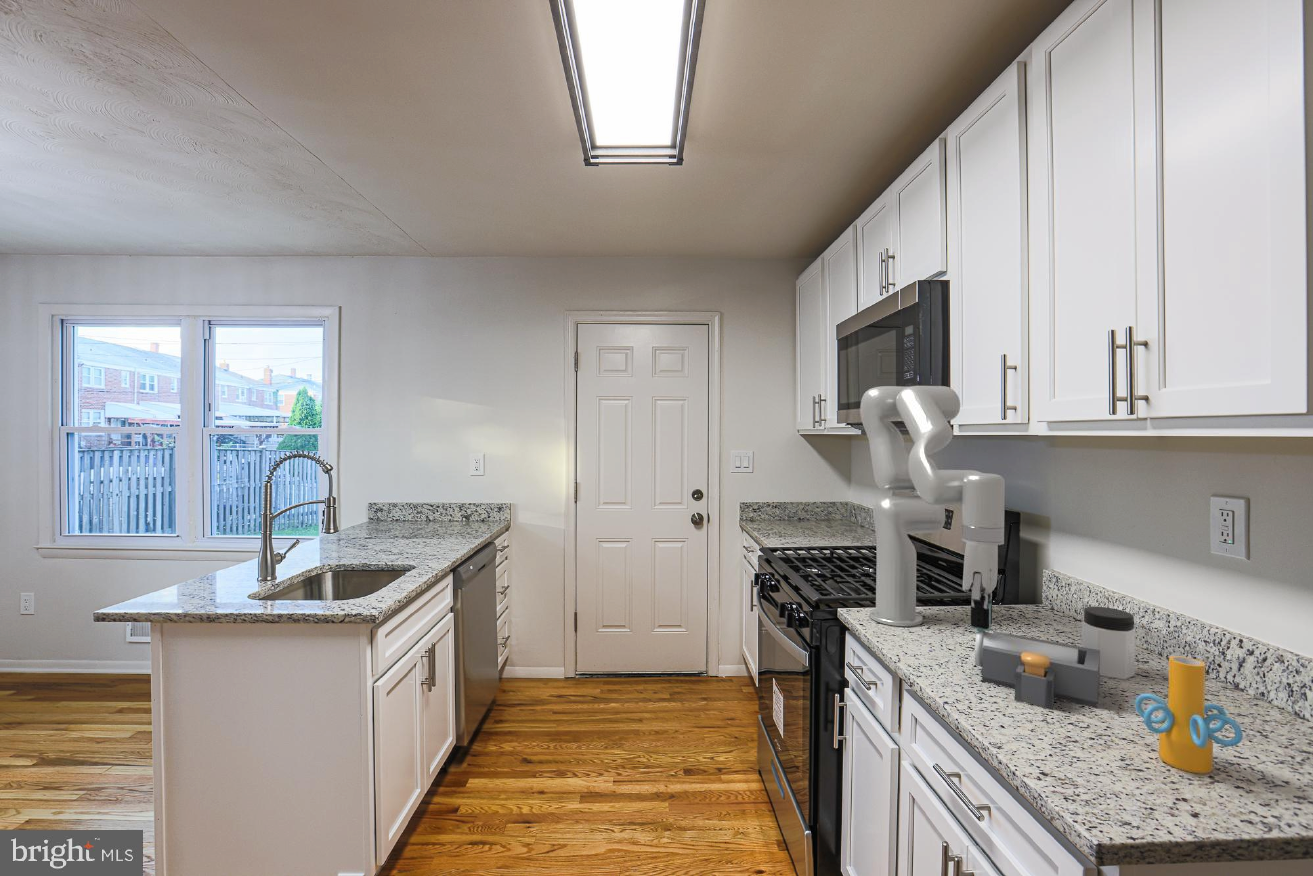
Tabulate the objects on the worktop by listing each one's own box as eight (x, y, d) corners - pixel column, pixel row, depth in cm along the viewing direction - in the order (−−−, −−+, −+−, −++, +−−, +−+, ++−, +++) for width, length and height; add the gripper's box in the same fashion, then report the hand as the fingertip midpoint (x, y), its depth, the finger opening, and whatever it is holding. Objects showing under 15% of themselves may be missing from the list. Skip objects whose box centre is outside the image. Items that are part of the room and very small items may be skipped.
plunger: (1022, 686, 114) (1022, 650, 114) (1050, 692, 111) (1051, 655, 111) (1019, 694, 111) (1019, 657, 111) (1047, 701, 108) (1048, 663, 108)
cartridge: (976, 658, 128) (976, 598, 128) (1078, 679, 118) (1079, 614, 118) (968, 669, 123) (969, 606, 123) (1075, 692, 112) (1076, 623, 112)
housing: (993, 662, 129) (994, 631, 129) (1099, 684, 118) (1100, 650, 118) (976, 691, 114) (976, 656, 114) (1095, 719, 103) (1096, 681, 103)
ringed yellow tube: (1251, 771, 88) (1253, 666, 88) (1231, 795, 82) (1233, 683, 82) (1146, 736, 98) (1148, 642, 98) (1121, 755, 92) (1123, 655, 92)
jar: (1122, 683, 119) (1123, 621, 119) (1074, 669, 126) (1075, 610, 125) (1140, 673, 124) (1141, 613, 124) (1094, 660, 130) (1095, 604, 130)
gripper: (970, 528, 133) (969, 612, 133) (953, 538, 120) (952, 631, 120) (1010, 531, 129) (1008, 619, 129) (997, 542, 116) (995, 640, 116)
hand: (981, 624), depth 125 cm, fingers closed on cartridge, 2 cm apart
